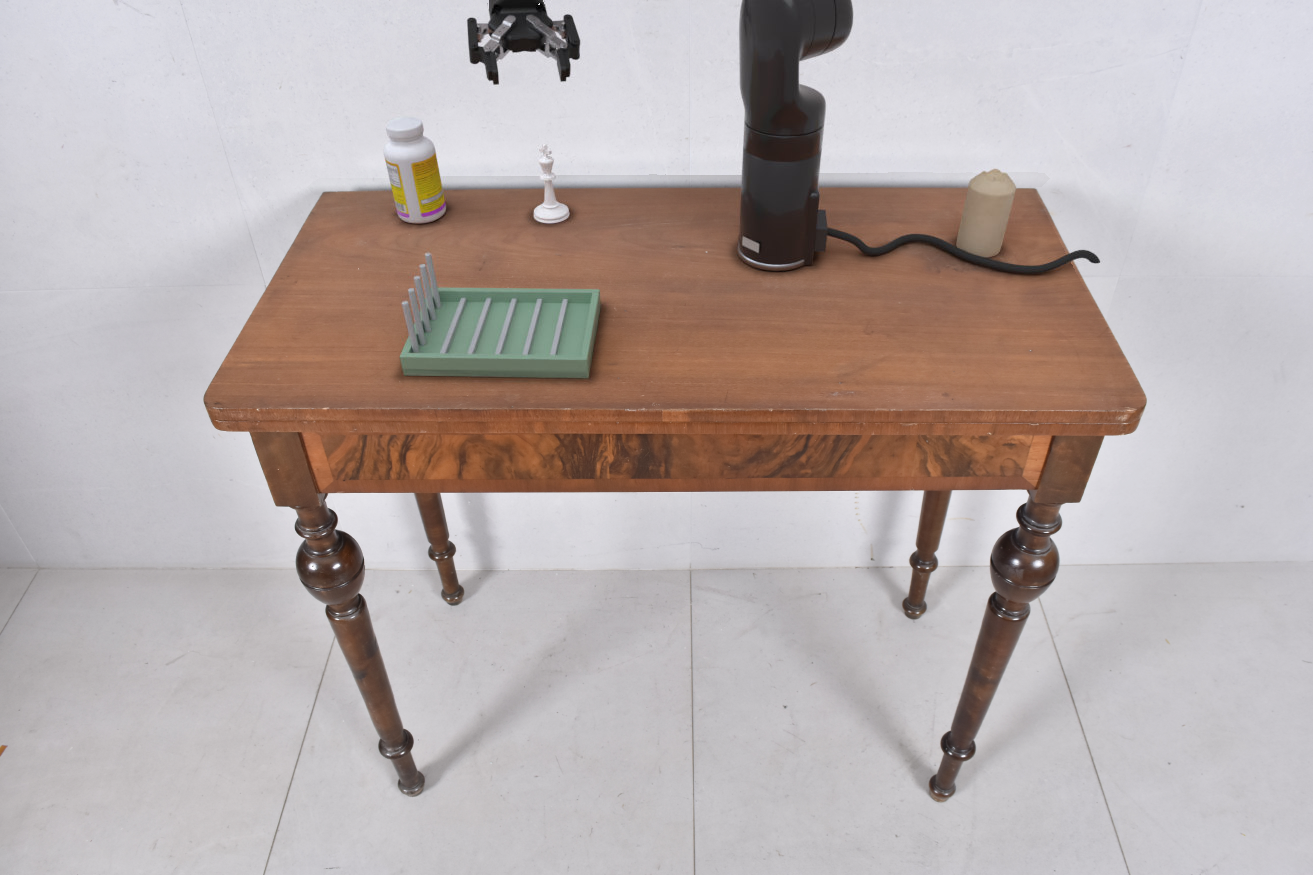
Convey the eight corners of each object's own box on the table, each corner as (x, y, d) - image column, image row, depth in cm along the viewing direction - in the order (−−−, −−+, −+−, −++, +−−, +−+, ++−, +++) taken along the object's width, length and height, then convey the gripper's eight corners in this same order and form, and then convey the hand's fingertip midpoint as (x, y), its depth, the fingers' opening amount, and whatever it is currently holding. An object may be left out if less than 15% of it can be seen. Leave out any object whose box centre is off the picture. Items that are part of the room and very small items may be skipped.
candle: (952, 254, 117) (968, 179, 111) (959, 234, 121) (974, 161, 115) (997, 261, 116) (1016, 186, 109) (1002, 241, 119) (1021, 167, 113)
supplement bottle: (452, 204, 130) (436, 114, 122) (439, 226, 125) (421, 134, 117) (406, 202, 131) (387, 113, 122) (391, 225, 126) (370, 133, 117)
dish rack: (601, 307, 109) (597, 246, 104) (588, 378, 99) (583, 315, 93) (433, 305, 110) (421, 245, 105) (403, 375, 100) (388, 312, 94)
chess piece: (555, 227, 125) (548, 155, 118) (526, 218, 127) (518, 147, 120) (576, 212, 128) (571, 142, 121) (548, 204, 130) (541, 134, 123)
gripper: (458, -29, 120) (470, 55, 112) (567, -32, 122) (587, 50, 115) (463, 22, 126) (475, 104, 119) (566, 19, 129) (585, 99, 121)
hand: (530, 77), depth 117 cm, fingers open, 8 cm apart
